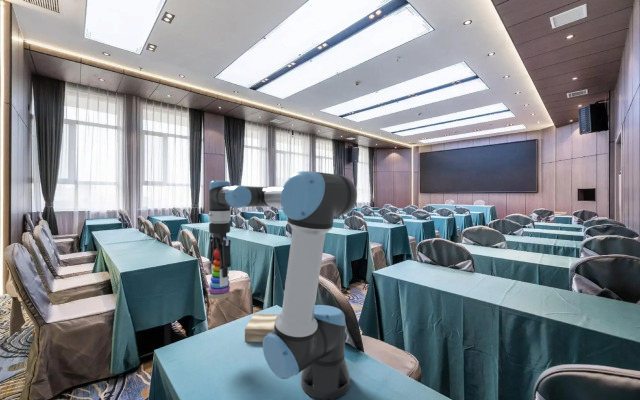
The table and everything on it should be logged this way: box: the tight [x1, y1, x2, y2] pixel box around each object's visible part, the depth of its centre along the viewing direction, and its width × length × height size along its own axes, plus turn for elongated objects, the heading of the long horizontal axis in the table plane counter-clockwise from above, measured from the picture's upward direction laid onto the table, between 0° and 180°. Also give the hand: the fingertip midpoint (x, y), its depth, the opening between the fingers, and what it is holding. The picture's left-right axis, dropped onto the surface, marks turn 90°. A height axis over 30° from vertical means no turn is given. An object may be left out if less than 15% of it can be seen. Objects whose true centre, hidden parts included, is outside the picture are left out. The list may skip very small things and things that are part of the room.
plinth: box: [244, 313, 280, 343], centre depth 116 cm, size 14×14×5 cm
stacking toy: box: [207, 248, 231, 301], centre depth 103 cm, size 8×8×19 cm
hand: (219, 283), depth 103 cm, fingers closed on stacking toy, 7 cm apart
